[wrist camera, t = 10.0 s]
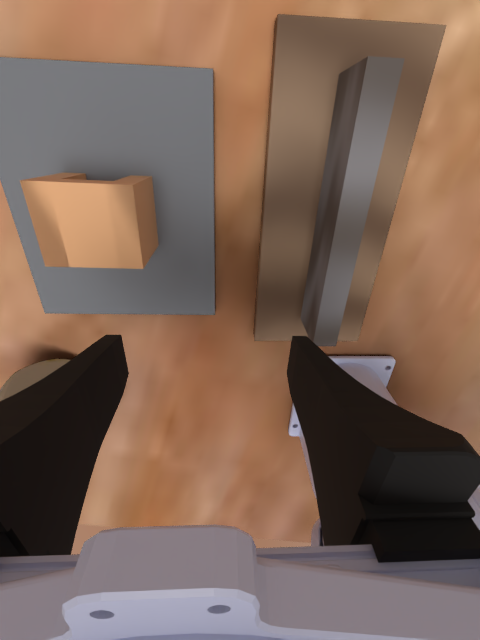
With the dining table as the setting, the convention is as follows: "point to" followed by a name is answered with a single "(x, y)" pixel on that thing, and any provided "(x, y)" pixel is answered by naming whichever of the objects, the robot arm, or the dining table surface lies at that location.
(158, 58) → the dining table surface
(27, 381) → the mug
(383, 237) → the stand
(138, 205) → the u-shaped block
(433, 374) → the dining table surface
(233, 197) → the dining table surface
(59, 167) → the mat
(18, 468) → the robot arm
